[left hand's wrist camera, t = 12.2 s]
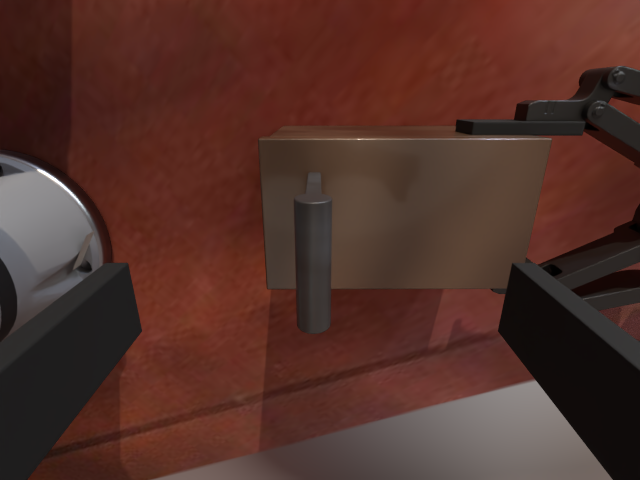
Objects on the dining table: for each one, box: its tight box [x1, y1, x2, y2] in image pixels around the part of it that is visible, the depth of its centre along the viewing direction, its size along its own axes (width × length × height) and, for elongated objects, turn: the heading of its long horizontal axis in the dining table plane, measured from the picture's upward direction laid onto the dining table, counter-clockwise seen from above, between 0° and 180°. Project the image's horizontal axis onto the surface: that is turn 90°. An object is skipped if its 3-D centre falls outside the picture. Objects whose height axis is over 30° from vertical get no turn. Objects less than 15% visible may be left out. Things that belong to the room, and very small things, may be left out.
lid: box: [258, 136, 552, 334], centre depth 18 cm, size 16×9×8 cm, turn 90°
